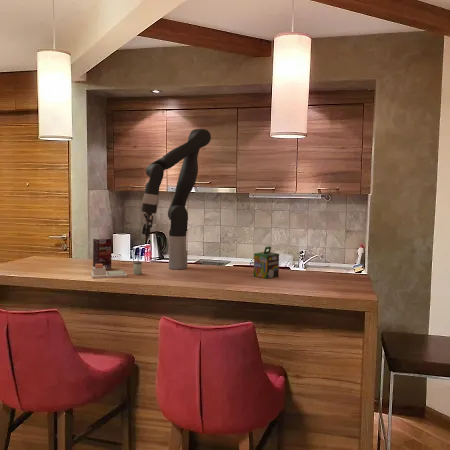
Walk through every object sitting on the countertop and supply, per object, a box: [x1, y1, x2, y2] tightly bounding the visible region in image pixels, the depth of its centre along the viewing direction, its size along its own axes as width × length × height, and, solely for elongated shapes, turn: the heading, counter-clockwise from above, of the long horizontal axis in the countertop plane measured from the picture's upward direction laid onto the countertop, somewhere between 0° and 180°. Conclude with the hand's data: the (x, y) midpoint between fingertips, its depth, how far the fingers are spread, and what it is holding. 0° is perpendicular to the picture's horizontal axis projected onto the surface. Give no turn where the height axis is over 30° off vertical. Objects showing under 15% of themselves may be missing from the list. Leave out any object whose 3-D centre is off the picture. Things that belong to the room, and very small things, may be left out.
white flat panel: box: [90, 269, 128, 279], centre depth 234 cm, size 16×12×1 cm
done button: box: [95, 264, 103, 268], centre depth 232 cm, size 3×3×2 cm
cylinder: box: [133, 260, 143, 276], centre depth 238 cm, size 4×4×6 cm
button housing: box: [92, 266, 107, 275], centre depth 232 cm, size 6×6×3 cm
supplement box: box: [92, 237, 112, 270], centre depth 251 cm, size 9×5×16 cm, turn 143°
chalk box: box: [253, 246, 280, 280], centre depth 237 cm, size 9×9×15 cm
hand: (145, 235), depth 245 cm, fingers open, 8 cm apart
